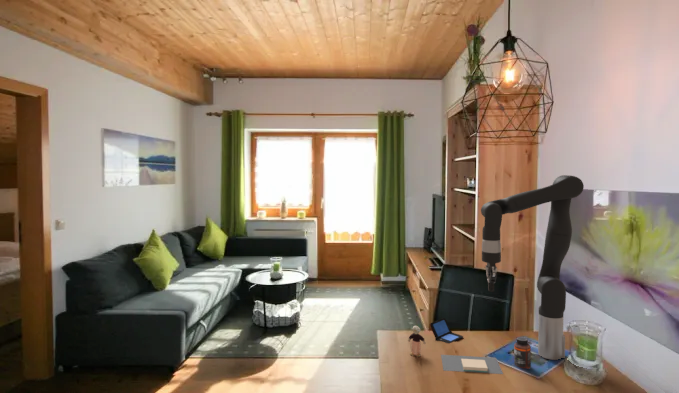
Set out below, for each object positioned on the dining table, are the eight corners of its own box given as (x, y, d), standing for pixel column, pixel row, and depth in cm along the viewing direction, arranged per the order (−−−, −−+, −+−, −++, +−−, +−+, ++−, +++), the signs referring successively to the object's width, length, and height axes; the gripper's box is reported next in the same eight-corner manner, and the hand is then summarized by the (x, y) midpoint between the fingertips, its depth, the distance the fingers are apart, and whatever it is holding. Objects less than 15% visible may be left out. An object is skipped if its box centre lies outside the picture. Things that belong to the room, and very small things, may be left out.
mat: (495, 359, 171) (495, 357, 170) (503, 376, 157) (503, 374, 157) (440, 356, 174) (440, 354, 174) (443, 372, 161) (443, 370, 161)
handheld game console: (449, 346, 185) (449, 329, 185) (429, 339, 193) (428, 323, 193) (464, 338, 193) (464, 322, 193) (444, 332, 201) (444, 317, 201)
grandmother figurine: (406, 356, 175) (406, 326, 175) (408, 352, 179) (407, 323, 178) (425, 358, 173) (425, 328, 172) (426, 354, 177) (426, 325, 176)
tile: (484, 359, 165) (487, 368, 158) (484, 363, 165) (487, 372, 158) (461, 358, 167) (463, 366, 160) (461, 362, 167) (463, 370, 160)
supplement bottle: (529, 364, 166) (530, 336, 165) (531, 371, 160) (531, 342, 160) (513, 362, 168) (513, 334, 167) (514, 369, 162) (514, 340, 162)
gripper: (504, 253, 166) (504, 296, 167) (497, 247, 179) (497, 287, 180) (484, 253, 167) (484, 295, 168) (479, 247, 180) (479, 286, 181)
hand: (491, 291), depth 174 cm, fingers closed
